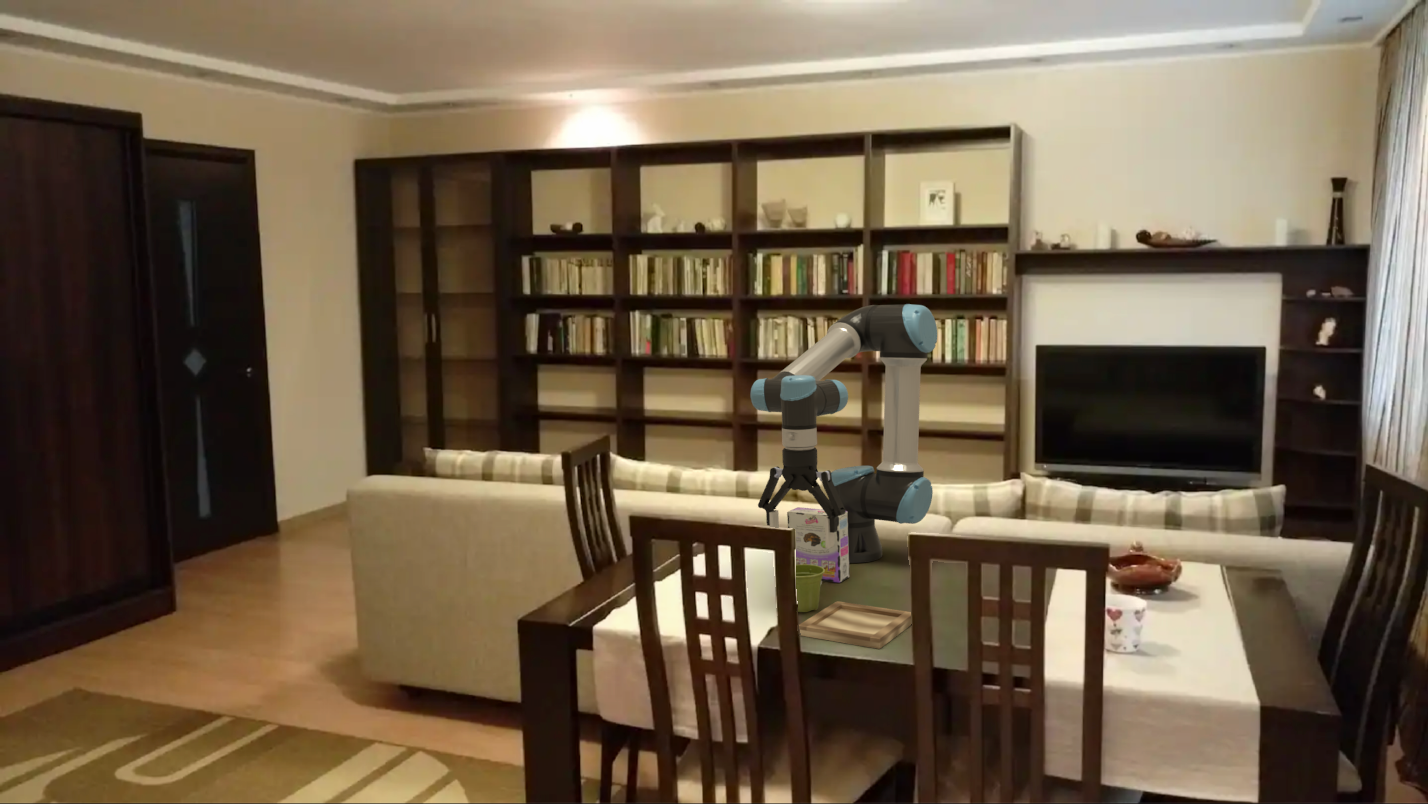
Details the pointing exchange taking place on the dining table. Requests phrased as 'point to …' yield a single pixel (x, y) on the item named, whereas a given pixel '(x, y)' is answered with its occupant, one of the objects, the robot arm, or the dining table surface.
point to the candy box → (821, 542)
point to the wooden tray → (856, 624)
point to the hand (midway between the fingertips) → (801, 543)
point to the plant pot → (808, 586)
